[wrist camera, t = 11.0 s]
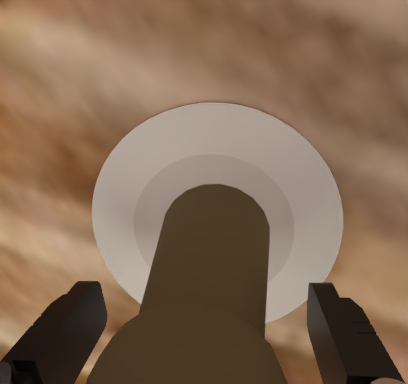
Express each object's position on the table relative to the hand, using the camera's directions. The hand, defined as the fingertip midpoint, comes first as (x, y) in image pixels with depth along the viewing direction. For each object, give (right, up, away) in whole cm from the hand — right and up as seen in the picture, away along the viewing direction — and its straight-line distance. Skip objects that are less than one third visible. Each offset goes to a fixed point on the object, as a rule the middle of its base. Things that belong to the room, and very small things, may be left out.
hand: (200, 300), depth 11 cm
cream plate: (+1, +2, +6) cm, 6 cm away
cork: (+1, +2, +5) cm, 6 cm away
